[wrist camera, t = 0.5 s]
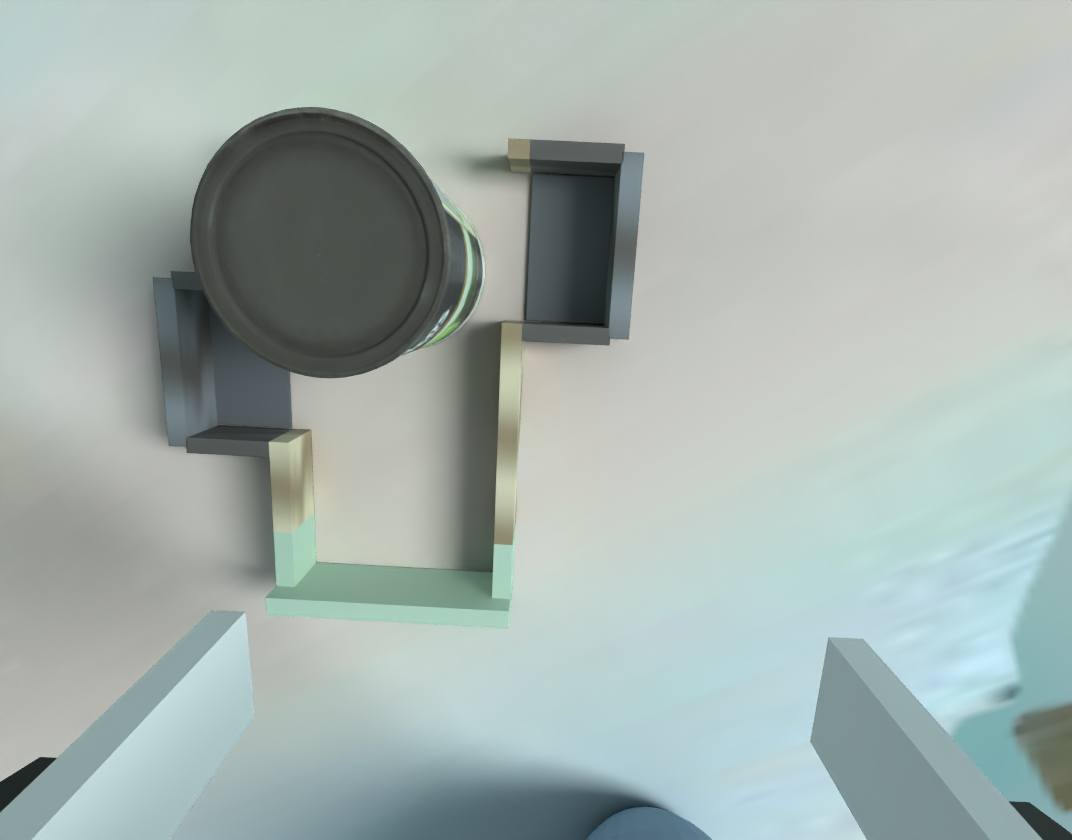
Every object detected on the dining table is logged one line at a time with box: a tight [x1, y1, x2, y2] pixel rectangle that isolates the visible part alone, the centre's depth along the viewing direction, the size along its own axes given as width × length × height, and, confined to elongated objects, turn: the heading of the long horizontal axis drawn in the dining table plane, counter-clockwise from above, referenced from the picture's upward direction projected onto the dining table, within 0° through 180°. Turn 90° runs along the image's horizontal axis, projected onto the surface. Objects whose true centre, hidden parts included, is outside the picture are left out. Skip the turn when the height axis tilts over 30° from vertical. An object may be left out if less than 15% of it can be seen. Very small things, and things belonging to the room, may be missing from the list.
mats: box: [209, 174, 614, 428], centre depth 36 cm, size 17×26×1 cm, turn 87°
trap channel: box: [153, 138, 644, 545], centre depth 35 cm, size 24×28×4 cm
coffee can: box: [190, 107, 485, 378], centre depth 29 cm, size 10×10×14 cm
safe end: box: [265, 513, 516, 629], centre depth 38 cm, size 5×15×5 cm, turn 87°
